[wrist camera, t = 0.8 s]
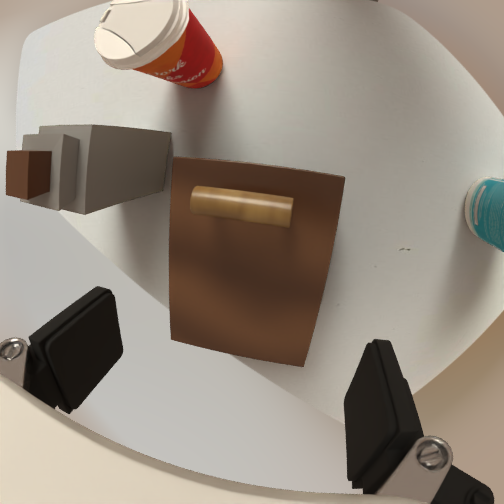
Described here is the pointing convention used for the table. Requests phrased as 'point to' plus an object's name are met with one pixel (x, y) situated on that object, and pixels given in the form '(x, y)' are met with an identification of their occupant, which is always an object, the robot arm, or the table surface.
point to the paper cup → (158, 41)
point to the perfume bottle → (87, 166)
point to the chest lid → (249, 255)
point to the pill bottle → (486, 211)
